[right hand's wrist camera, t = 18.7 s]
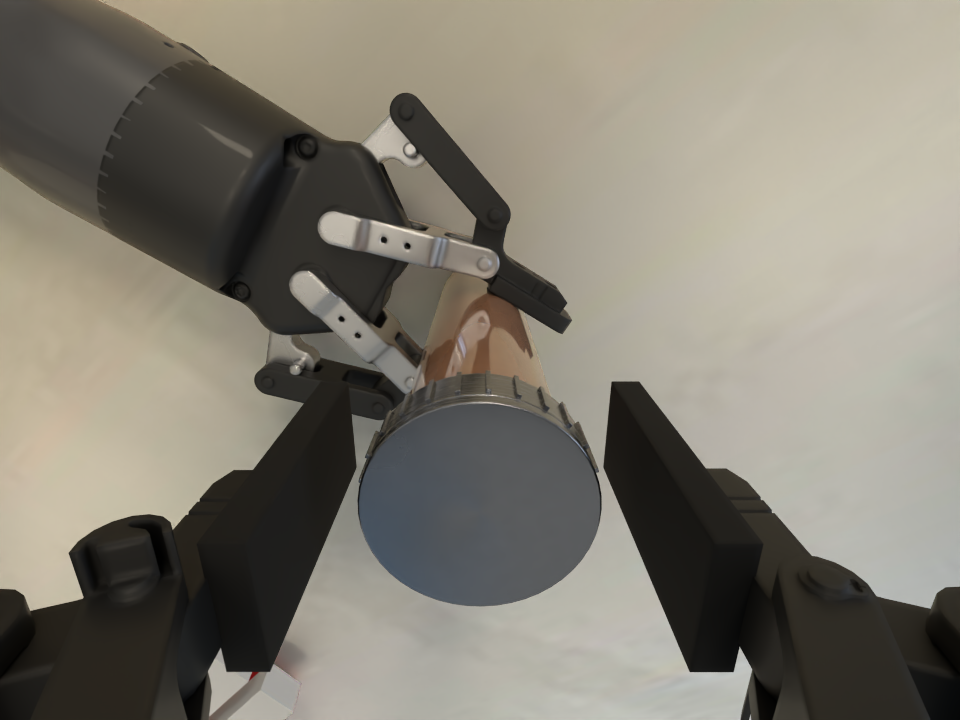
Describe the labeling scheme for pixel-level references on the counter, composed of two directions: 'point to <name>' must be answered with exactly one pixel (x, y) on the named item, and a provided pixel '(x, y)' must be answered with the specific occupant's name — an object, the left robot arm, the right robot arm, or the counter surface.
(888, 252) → the counter surface
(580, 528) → the lid
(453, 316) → the jar
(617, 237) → the counter surface
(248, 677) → the toy
